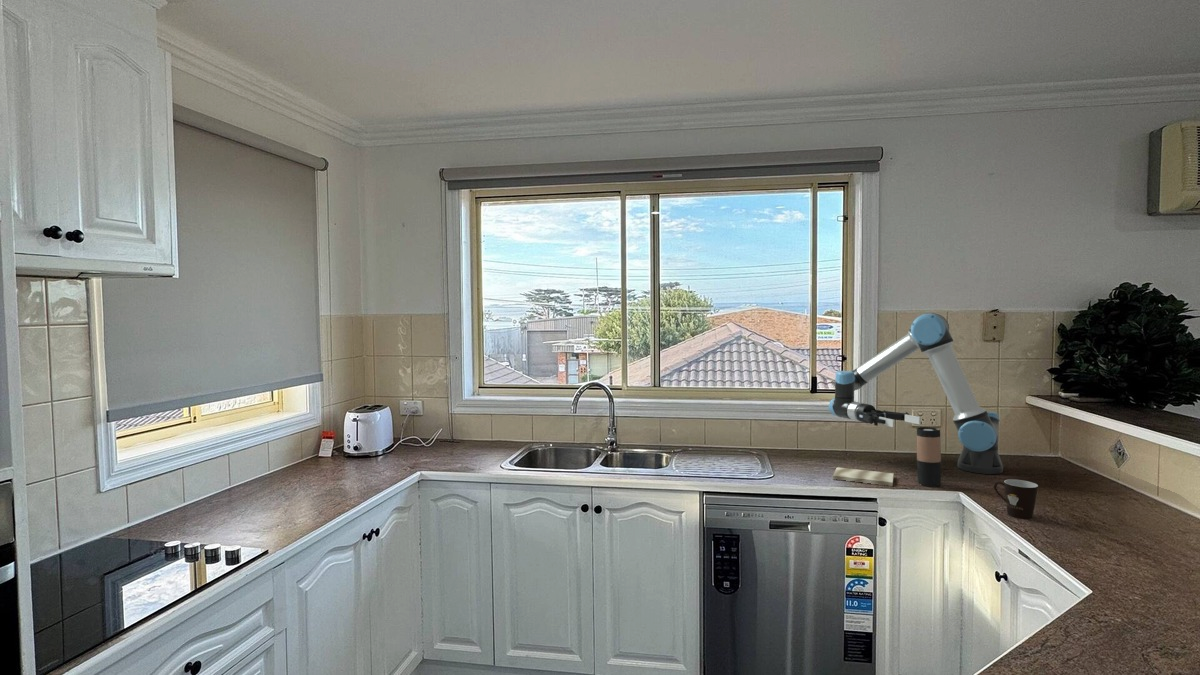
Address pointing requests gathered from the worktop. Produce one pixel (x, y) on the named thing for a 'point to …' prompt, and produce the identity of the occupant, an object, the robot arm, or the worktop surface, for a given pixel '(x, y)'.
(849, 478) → the dock pad
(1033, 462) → the worktop surface
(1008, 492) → the coffee mug
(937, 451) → the travel mug
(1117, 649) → the worktop surface
